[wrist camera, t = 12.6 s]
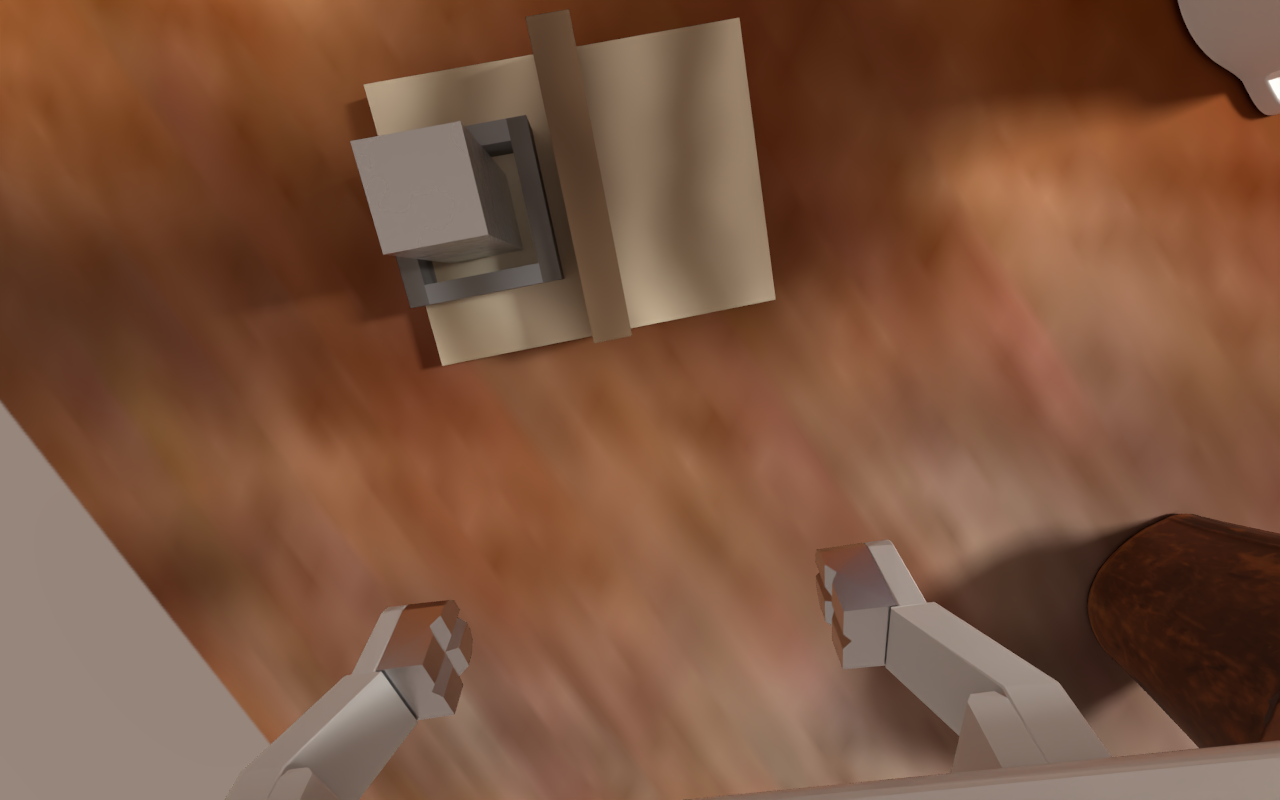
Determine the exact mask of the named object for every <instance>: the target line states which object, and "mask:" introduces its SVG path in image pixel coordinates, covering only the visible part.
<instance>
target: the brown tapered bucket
mask: <svg viewBox="0 0 1280 800" xmlns="http://www.w3.org/2000/svg"><path fill="white" fill-rule="evenodd" d="M1087 608H1088V616H1089V620H1090V624H1091V627H1092V629H1093V632H1094V634H1095V636H1096V638H1097V640H1098V642H1099V643H1100V645H1101V646H1102V647H1103V649H1104V650H1105V651H1106V652H1107V653H1108V654H1109V655H1110V656H1111V657H1112V658H1113V659H1114V660H1115V661H1116V662H1117V663H1119V664H1120V665H1121V666H1122V667H1123V668H1124V669H1125V671H1126V672H1127V673H1128V674H1129V675H1130V676H1131V677H1132V678H1133V679H1134V680H1135V681H1136V682H1137V683H1138V684H1139V685H1140V686H1141V687H1142V688H1143V689H1144V690H1145V691H1146V692H1147V693H1148V694H1149V695H1150V696H1151V697H1152V699H1153V700H1154V701H1155V702H1156V703H1157V704H1158V705H1159V706H1160V707H1161V708H1162V709H1163V710H1164V711H1165V712H1166V713H1167V714H1168V715H1169V717H1170V718H1171V719H1172V720H1173V721H1174V722H1175V723H1176V724H1177V725H1178V726H1179V727H1180V728H1181V729H1182V730H1183V731H1184V732H1185V733H1186V734H1187V736H1188V737H1189V738H1190V739H1191V740H1192V741H1193V742H1194V743H1195V744H1196V745H1197V746H1198V747H1199V748H1209V747H1219V746H1230V745H1240V744H1250V743H1260V742H1270V741H1280V534H1279V533H1274V532H1269V531H1264V530H1260V529H1255V528H1250V527H1246V526H1241V525H1236V524H1231V523H1227V522H1222V521H1218V520H1214V519H1210V518H1205V517H1201V516H1198V515H1194V514H1178V515H1174V516H1170V517H1167V518H1165V519H1164V520H1162V521H1159V522H1157V523H1155V524H1153V525H1151V526H1148V527H1146V528H1145V529H1143V530H1141V531H1140V532H1138V533H1137V534H1135V535H1134V536H1132V537H1131V538H1130V539H1128V540H1127V541H1126V542H1125V543H1124V544H1122V545H1121V546H1120V547H1119V548H1118V549H1117V550H1116V551H1115V552H1114V553H1113V554H1112V555H1111V556H1110V557H1109V558H1108V560H1107V561H1106V562H1105V563H1104V564H1103V566H1102V567H1101V568H1100V570H1099V571H1098V573H1097V575H1096V577H1095V579H1094V581H1093V584H1092V586H1091V589H1090V593H1089V597H1088V607H1087Z"/></svg>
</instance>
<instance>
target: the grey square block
mask: <svg viewBox="0 0 1280 800" xmlns="http://www.w3.org/2000/svg"><path fill="white" fill-rule="evenodd" d="M350 142H351V146H352V149H353V153H354V156H355V160H356V163H357V166H358V170H359V173H360V177H361V180H362V184H363V187H364V190H365V194H366V197H367V201H368V204H369V208H370V211H371V214H372V218H373V221H374V225H375V228H376V232H377V235H378V238H379V242H380V245H381V249H382V252H383V255H391V256H398V257H406V258H414V259H422V260H430V261H438V262H445V263H458V262H463V261H468V260H474V259H479V258H484V257H489V256H495V255H500V254H505V253H510V252H515V251H521V250H523V246H522V241H521V237H520V233H519V228H518V224H517V220H516V215H515V211H514V207H513V203H512V198H511V194H510V190H509V185H508V181H507V177H506V174H505V173H504V172H503V171H502V170H501V168H500V167H499V166H498V165H497V164H496V162H495V161H494V160H493V159H492V158H491V157H490V155H489V154H488V153H487V152H486V151H485V149H484V148H483V147H482V146H481V145H480V143H479V142H478V141H477V140H476V139H475V138H474V136H473V135H472V134H471V133H470V132H469V130H468V129H467V128H466V127H465V126H464V124H463V123H462V122H461V121H458V122H452V123H447V124H441V125H436V126H430V127H425V128H419V129H414V130H408V131H403V132H397V133H392V134H386V135H381V136H375V137H370V138H364V139H359V140H353V141H350Z"/></svg>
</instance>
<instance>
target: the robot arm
mask: <svg viewBox="0 0 1280 800" xmlns="http://www.w3.org/2000/svg"><path fill="white" fill-rule="evenodd" d="M1178 4H1179V8H1180V11H1181V14H1182V17H1183V19H1184V22H1185V24H1186V26H1187V28H1188V30H1189V32H1190V34H1191V36H1192V37H1193V39H1194V40H1195V42H1196V43H1197V44H1198V46H1199V47H1200V48H1201V49H1202V50H1203V52H1204V53H1205V54H1206V55H1207V56H1208V57H1210V58H1211V59H1212V60H1213V61H1214V62H1216V63H1217V64H1219V65H1220V66H1222V67H1223V68H1225V69H1227V70H1228V71H1230V72H1231V73H1233V74H1234V75H1236V76H1237V77H1238V78H1239V79H1240V80H1241V81H1242V82H1243V84H1244V86H1245V88H1246V90H1247V92H1248V94H1249V95H1250V97H1251V99H1252V101H1253V102H1254V104H1255V105H1256V107H1257V108H1258V109H1259V110H1260V111H1261V112H1262V113H1264V114H1266V115H1276V114H1279V113H1280V0H1178ZM815 562H816V565H817V567H818V570H819V573H818V574H817V575H816V588H817V593H818V599H819V603H820V606H821V610H822V613H823V616H824V619H825V621H826V622H827V623H829V624H830V625H831V626H832V641H833V644H834V646H835V649H836V652H837V655H838V657H839V660H840V663H841V665H842V668H843V669H851V668H863V667H874V666H885V665H886V668H887V669H888V670H889V671H890V672H891V673H892V674H893V675H894V676H895V677H896V678H897V679H898V680H899V681H900V682H902V683H903V684H904V685H905V686H906V687H907V688H908V689H909V690H910V691H911V692H912V693H913V694H914V695H916V696H917V697H918V698H919V699H920V700H921V701H922V702H923V703H924V704H925V705H926V706H927V707H928V708H929V709H931V710H932V711H933V712H934V713H935V714H936V715H937V716H938V717H939V718H940V719H941V720H942V721H943V722H945V723H946V724H947V725H948V726H949V727H950V728H951V729H952V730H953V731H954V732H955V733H956V734H957V735H958V736H959V740H958V745H957V749H956V753H955V757H954V762H953V766H952V770H951V773H948V774H938V775H928V776H918V777H908V778H898V779H888V780H878V781H868V782H858V783H848V784H838V785H828V786H817V787H807V788H797V789H787V790H777V791H767V792H756V793H746V794H736V795H726V796H716V797H705V798H695V799H685V800H1280V741H1270V742H1260V743H1250V744H1240V745H1230V746H1219V747H1209V748H1199V749H1189V750H1179V751H1169V752H1159V753H1149V754H1139V755H1129V756H1119V757H1112V756H1111V755H1110V753H1109V752H1108V750H1107V749H1106V748H1105V746H1104V745H1103V743H1102V742H1101V741H1100V739H1099V738H1098V736H1097V735H1096V734H1095V732H1094V731H1093V729H1092V728H1091V727H1090V725H1089V724H1088V722H1087V721H1086V720H1085V718H1084V717H1083V715H1082V714H1081V713H1080V711H1079V710H1078V708H1077V707H1076V706H1075V704H1074V703H1073V701H1072V700H1071V699H1070V697H1069V696H1068V694H1067V693H1066V692H1065V690H1064V689H1063V687H1062V686H1061V685H1060V683H1059V682H1057V681H1056V680H1054V679H1053V678H1051V677H1050V676H1048V675H1047V674H1045V673H1044V672H1042V671H1040V670H1039V669H1037V668H1036V667H1034V666H1033V665H1031V664H1030V663H1028V662H1027V661H1025V660H1023V659H1022V658H1020V657H1019V656H1017V655H1016V654H1014V653H1013V652H1011V651H1010V650H1008V649H1006V648H1005V647H1003V646H1002V645H1000V644H999V643H997V642H996V641H994V640H992V639H991V638H989V637H988V636H986V635H985V634H983V633H982V632H980V631H979V630H977V629H975V628H974V627H972V626H971V625H969V624H968V623H966V622H965V621H963V620H962V619H960V618H958V617H957V616H955V615H954V614H952V613H951V612H949V611H948V610H946V609H945V608H943V607H941V606H940V605H938V604H937V603H935V602H928V603H927V602H926V600H925V599H924V597H923V595H922V593H921V592H920V590H919V588H918V586H917V585H916V583H915V581H914V580H913V578H912V576H911V574H910V573H909V571H908V569H907V567H906V566H905V564H904V562H903V560H902V559H901V557H900V555H899V554H898V552H897V550H896V548H895V547H894V545H893V543H892V542H891V541H889V540H880V541H873V542H866V543H857V544H850V545H843V546H837V547H830V548H823V549H817V550H816V553H815ZM459 611H460V609H459V607H458V606H457V604H456V602H455V601H454V600H446V601H436V602H427V603H418V604H409V605H402V606H393V607H387V608H386V609H385V610H384V611H383V612H382V613H381V615H380V617H379V619H378V621H377V623H376V625H375V627H374V629H373V632H372V634H371V636H370V638H369V640H368V642H367V644H366V646H365V648H364V650H363V652H362V654H361V656H360V658H359V660H358V662H357V664H356V667H355V669H354V671H353V673H352V675H347V676H344V677H343V678H342V679H341V680H340V681H339V682H338V683H337V684H336V685H335V686H334V687H332V688H331V689H330V690H329V691H328V692H327V693H326V694H325V695H324V696H323V697H322V698H321V699H319V700H318V701H317V702H316V703H315V704H314V705H313V706H312V707H311V708H310V709H309V710H308V711H306V712H305V713H304V714H303V715H302V716H301V717H300V718H299V719H298V720H297V721H296V722H295V723H293V724H292V725H291V726H290V727H289V728H288V729H287V730H286V731H285V732H284V733H283V734H282V735H280V736H279V737H278V738H277V739H276V740H275V741H274V742H273V743H272V744H271V745H270V746H269V747H268V748H266V749H265V750H264V751H263V752H262V753H261V754H260V755H259V756H258V757H257V758H256V759H254V760H253V761H252V762H251V763H250V764H249V765H248V766H247V767H246V768H245V769H244V770H243V771H241V773H240V774H239V776H238V777H237V779H236V781H235V783H234V784H233V786H232V788H231V790H230V791H229V793H228V795H227V796H226V798H225V800H359V799H360V797H361V796H362V795H363V793H364V792H365V791H366V790H367V788H368V787H369V786H370V784H371V783H372V782H373V780H374V779H375V778H376V776H377V775H378V774H379V772H380V771H381V770H382V769H383V767H384V766H385V765H386V763H387V762H388V761H389V759H390V758H391V757H392V755H393V754H394V753H395V752H396V750H397V749H398V748H399V746H400V745H401V744H402V742H403V741H404V740H405V738H406V737H407V736H408V734H409V733H410V732H411V731H412V729H413V728H414V727H415V725H416V724H417V720H421V719H428V718H435V717H442V716H448V715H455V711H456V708H457V705H458V701H459V698H460V694H461V691H462V687H463V683H462V681H461V678H460V674H461V673H462V672H463V671H464V670H465V669H466V668H467V667H468V666H469V663H470V659H471V655H472V642H473V638H472V634H471V630H470V628H469V626H468V624H467V622H465V621H464V620H462V619H460V618H458V614H459Z"/></svg>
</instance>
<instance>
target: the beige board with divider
mask: <svg viewBox="0 0 1280 800" xmlns="http://www.w3.org/2000/svg"><path fill="white" fill-rule="evenodd" d="M525 18H526V23H527V27H528V32H529V37H530V42H531V46H532V51H533V54H532V55H527V56H521V57H515V58H510V59H504V60H499V61H493V62H487V63H482V64H476V65H471V66H465V67H459V68H454V69H448V70H443V71H437V72H431V73H426V74H420V75H415V76H409V77H403V78H398V79H392V80H387V81H381V82H375V83H370V84H364V88H365V91H366V95H367V99H368V102H369V106H370V109H371V113H372V116H373V120H374V124H375V127H376V131H377V134H378V136H381V135H386V134H392V133H397V132H403V131H408V130H414V129H419V128H425V127H430V126H436V125H441V124H447V123H452V122H458V121H461V122H462V123H463V124H464V126H465V127H466V128H467V129H468V130H469V132H470V133H471V134H472V135H473V136H474V138H475V139H476V140H477V141H478V142H479V143H480V145H481V146H482V147H483V148H484V149H485V151H486V152H487V153H488V154H489V155H490V157H491V158H492V159H493V160H494V161H495V162H496V164H497V165H498V166H499V167H500V168H501V170H502V171H503V172H504V173H505V174H506V177H507V181H508V185H509V190H510V194H511V198H512V203H513V207H514V211H515V215H516V220H517V224H518V228H519V233H520V237H521V241H522V246H523V250H521V251H515V252H510V253H505V254H500V255H495V256H489V257H484V258H479V259H474V260H468V261H463V262H458V263H445V262H438V261H430V260H422V259H414V258H406V257H398V256H396V259H397V262H398V266H399V269H400V273H401V276H402V280H403V283H404V287H405V290H406V294H407V297H408V301H409V304H410V308H415V307H422V306H426V309H427V313H428V316H429V320H430V324H431V327H432V331H433V334H434V338H435V341H436V345H437V349H438V352H439V356H440V359H441V363H442V366H444V365H449V364H454V363H459V362H464V361H470V360H475V359H480V358H485V357H490V356H495V355H500V354H505V353H510V352H515V351H520V350H525V349H530V348H535V347H540V346H545V345H550V344H555V343H560V342H565V341H570V340H575V339H580V338H585V337H590V336H593V341H594V343H598V342H603V341H608V340H613V339H618V338H623V337H628V336H632V333H631V328H635V327H640V326H645V325H650V324H655V323H660V322H665V321H670V320H675V319H681V318H686V317H691V316H696V315H701V314H706V313H711V312H716V311H721V310H726V309H731V308H736V307H741V306H746V305H751V304H756V303H761V302H766V301H771V300H776V299H775V291H774V283H773V275H772V267H771V260H770V252H769V244H768V236H767V228H766V221H765V213H764V205H763V197H762V189H761V182H760V174H759V166H758V158H757V150H756V143H755V135H754V127H753V119H752V111H751V104H750V96H749V88H748V80H747V72H746V65H745V57H744V49H743V41H742V33H741V26H740V18H734V19H728V20H723V21H717V22H711V23H706V24H700V25H695V26H689V27H683V28H678V29H672V30H667V31H661V32H655V33H650V34H644V35H639V36H633V37H627V38H622V39H616V40H611V41H605V42H599V43H594V44H588V45H583V46H577V47H576V43H575V38H574V33H573V27H572V22H571V17H570V12H569V9H567V10H561V11H556V12H550V13H544V14H538V15H533V16H527V17H525Z"/></svg>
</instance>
